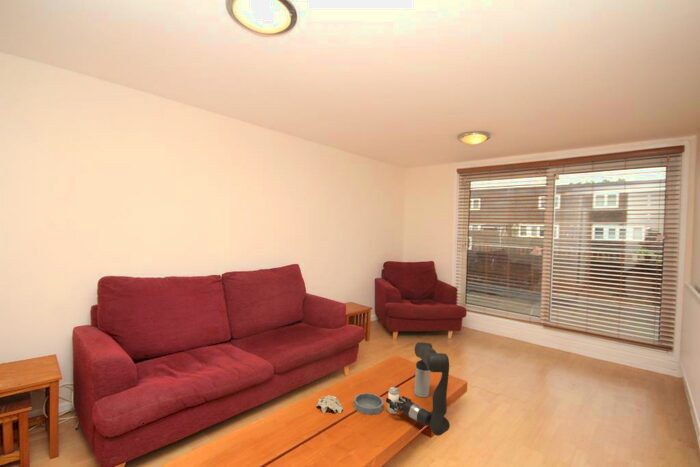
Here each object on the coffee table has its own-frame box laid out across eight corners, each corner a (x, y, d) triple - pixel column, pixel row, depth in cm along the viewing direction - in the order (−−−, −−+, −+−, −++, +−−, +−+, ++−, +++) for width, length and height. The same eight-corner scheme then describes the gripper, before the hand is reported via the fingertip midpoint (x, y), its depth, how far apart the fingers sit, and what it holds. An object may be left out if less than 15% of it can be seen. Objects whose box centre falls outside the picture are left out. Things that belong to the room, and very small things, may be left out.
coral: (344, 411, 187) (345, 402, 187) (326, 417, 181) (326, 408, 180) (330, 398, 200) (331, 390, 200) (313, 404, 193) (313, 395, 193)
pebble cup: (390, 406, 195) (392, 383, 195) (400, 410, 191) (401, 387, 191) (385, 410, 190) (386, 387, 190) (394, 415, 186) (396, 391, 186)
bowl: (364, 395, 206) (365, 390, 206) (388, 406, 195) (388, 400, 195) (348, 406, 192) (348, 400, 192) (372, 418, 182) (372, 412, 182)
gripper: (421, 400, 185) (398, 388, 197) (406, 408, 175) (382, 395, 187) (420, 413, 185) (397, 400, 197) (405, 422, 175) (381, 408, 187)
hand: (390, 398), depth 192 cm, fingers closed on pebble cup, 6 cm apart
